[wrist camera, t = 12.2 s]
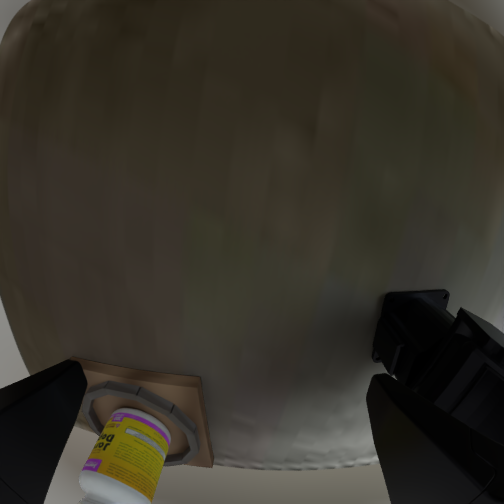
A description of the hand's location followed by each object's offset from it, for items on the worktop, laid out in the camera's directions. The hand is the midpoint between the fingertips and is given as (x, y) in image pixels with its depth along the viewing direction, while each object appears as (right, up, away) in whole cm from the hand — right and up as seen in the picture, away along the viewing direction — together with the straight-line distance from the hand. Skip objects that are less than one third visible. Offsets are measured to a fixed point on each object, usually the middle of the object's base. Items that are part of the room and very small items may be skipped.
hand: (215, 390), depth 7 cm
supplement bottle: (-10, -14, +16) cm, 24 cm away
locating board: (-10, -14, +18) cm, 25 cm away
